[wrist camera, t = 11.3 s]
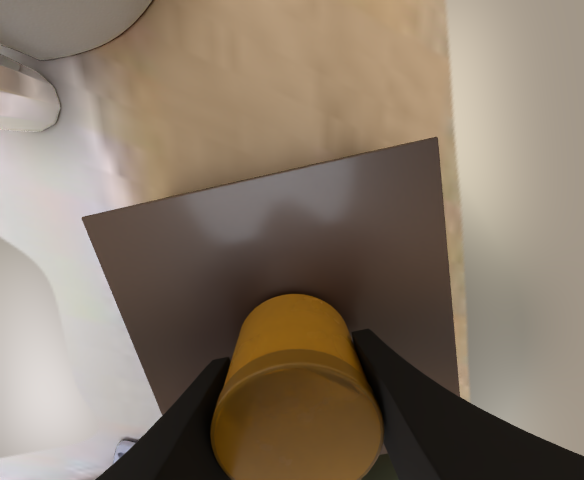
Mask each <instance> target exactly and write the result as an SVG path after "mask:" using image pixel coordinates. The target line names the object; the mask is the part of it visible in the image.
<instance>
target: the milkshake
mask: <svg viewBox="0 0 584 480" xmlns="http://www.w3.org/2000/svg"><path fill="white" fill-rule="evenodd" d="M60 107H61V106H60V103H59V100H58V97H57V94H56V91H55V88H54V86H53V85H52V84H50V83H49V82H48V81H47V80H46V79H45V78H44V77H43V76H42V75H41V74H39V73H38V72H37V71H35V70H33V69H31V68H29V67H27V66H25V65H22V64H20V63H18V62H16V61H14V60H12V59H10V58H8V57H5V56H3V55H1V54H0V130H12V131H31V132H42V131H44V130H45V129H47V128H49V127H50V126H52V125H54V124H55V123H56V121H57V117H58V114H59V110H60Z"/></svg>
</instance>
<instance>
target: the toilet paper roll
mask: <svg viewBox="0 0 584 480" xmlns="http://www.w3.org/2000/svg"><path fill="white" fill-rule="evenodd" d="M151 2H152V0H0V45H2V46H5V47H8V48H12V49H14V50H17V51H19V52H22V53H24V54H27V55H29V56H31V57H33V58H35V59H38V60H49V59H56V58H61V57H66V56H71V55H74V54H78V53H81V52H85V51H88V50H91V49H93V48H96V47H99V46H101V45H103V44H105V43H107V42H109V41H111V40H112V39H114V38H115V37H117V36H119V35H120V34H121V33H123V32H124V31H125V30H126V29H128V28H129V27H130V26H131V25H132V24H133V23H134V22H135V21H136V20H137V19H138V18H139V17H140V16H141V15H142V13H143V12H144V11H145V10H146V8H147V7H148V6H149V4H150V3H151Z"/></svg>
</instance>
